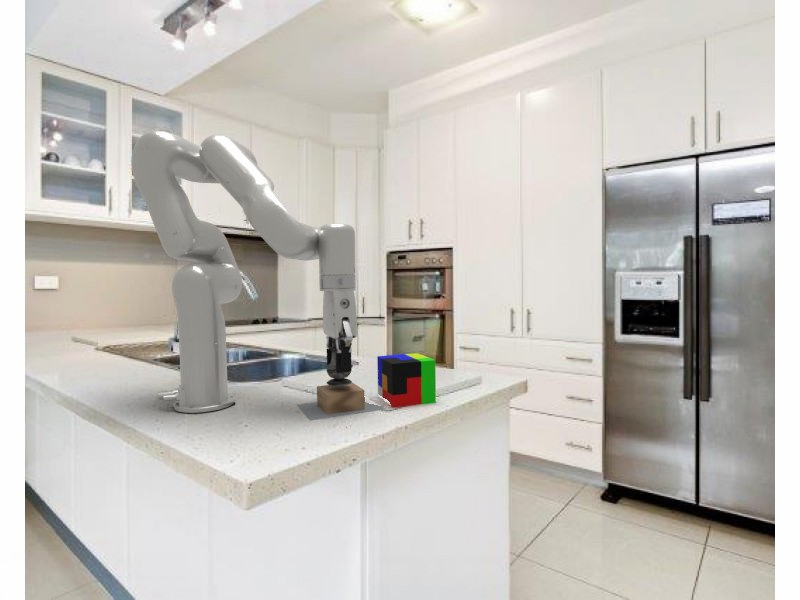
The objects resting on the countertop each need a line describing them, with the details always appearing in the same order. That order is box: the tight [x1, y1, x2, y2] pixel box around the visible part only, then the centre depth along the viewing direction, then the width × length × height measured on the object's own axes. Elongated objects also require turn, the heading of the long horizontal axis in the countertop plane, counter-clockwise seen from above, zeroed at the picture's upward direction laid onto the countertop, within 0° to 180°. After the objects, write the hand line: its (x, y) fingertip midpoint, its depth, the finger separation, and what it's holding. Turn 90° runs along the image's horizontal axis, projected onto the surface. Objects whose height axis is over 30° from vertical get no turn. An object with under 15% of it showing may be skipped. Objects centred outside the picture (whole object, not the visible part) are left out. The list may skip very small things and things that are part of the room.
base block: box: [316, 382, 365, 415], centre depth 96 cm, size 8×8×4 cm
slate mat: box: [296, 401, 386, 421], centre depth 96 cm, size 16×12×1 cm
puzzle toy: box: [376, 352, 437, 409], centre depth 101 cm, size 10×10×10 cm
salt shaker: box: [324, 336, 354, 386], centre depth 95 cm, size 6×6×12 cm
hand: (338, 368), depth 95 cm, fingers closed on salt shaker, 5 cm apart
